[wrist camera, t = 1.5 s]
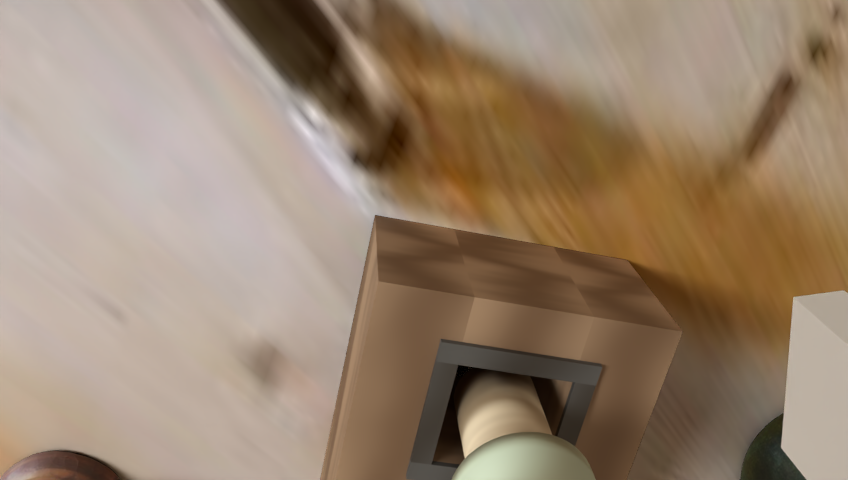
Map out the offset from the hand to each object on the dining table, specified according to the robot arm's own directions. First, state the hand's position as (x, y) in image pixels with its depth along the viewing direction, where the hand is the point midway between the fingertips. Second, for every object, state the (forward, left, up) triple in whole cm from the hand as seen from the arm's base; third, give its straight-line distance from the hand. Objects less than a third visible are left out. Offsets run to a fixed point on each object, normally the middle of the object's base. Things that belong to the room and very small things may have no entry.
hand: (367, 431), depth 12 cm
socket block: (+9, -19, -28) cm, 35 cm away
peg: (+9, -13, -22) cm, 27 cm away
